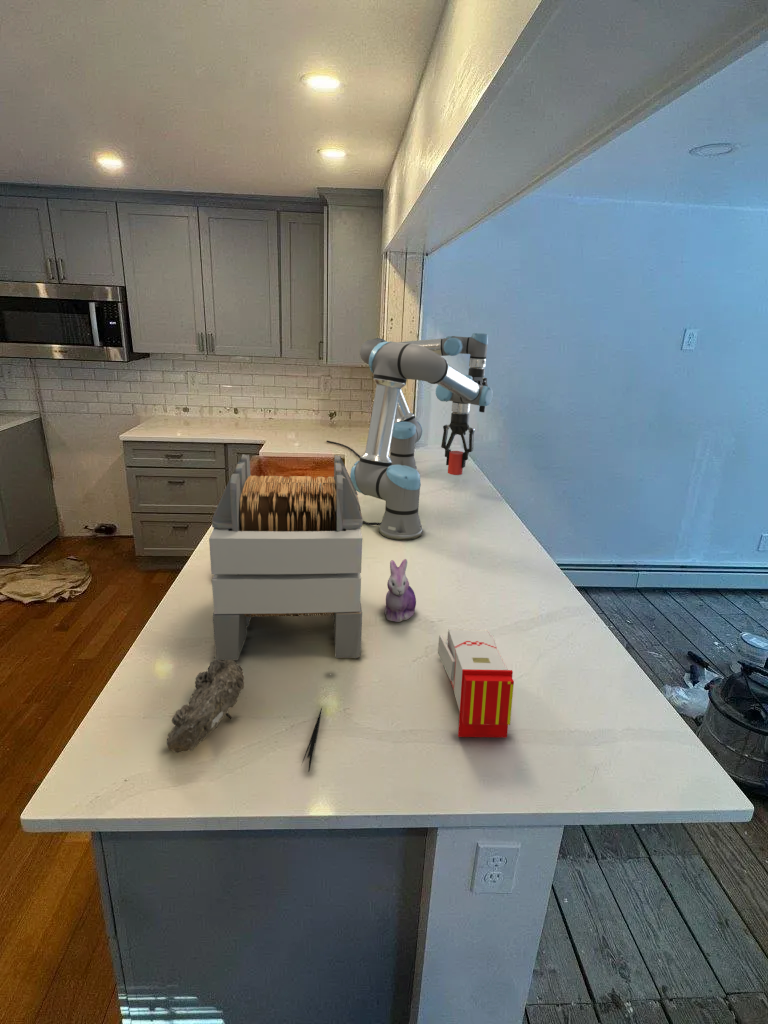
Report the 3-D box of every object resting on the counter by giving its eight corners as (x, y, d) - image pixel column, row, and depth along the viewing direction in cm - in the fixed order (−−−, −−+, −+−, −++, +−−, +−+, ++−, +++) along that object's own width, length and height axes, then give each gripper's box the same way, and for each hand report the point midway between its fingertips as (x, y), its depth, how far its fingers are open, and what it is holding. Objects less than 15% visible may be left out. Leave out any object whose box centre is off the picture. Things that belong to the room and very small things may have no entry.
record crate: (234, 590, 156) (226, 444, 142) (353, 588, 159) (357, 447, 146) (212, 662, 124) (200, 485, 110) (361, 659, 128) (367, 486, 114)
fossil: (192, 660, 117) (244, 628, 112) (224, 691, 120) (276, 661, 115) (142, 746, 98) (202, 712, 93) (182, 779, 101) (242, 748, 96)
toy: (488, 613, 130) (523, 677, 101) (484, 667, 133) (517, 744, 104) (435, 612, 130) (455, 676, 101) (432, 666, 133) (451, 743, 103)
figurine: (392, 627, 141) (395, 572, 136) (374, 608, 149) (376, 556, 144) (425, 619, 145) (429, 566, 140) (405, 601, 154) (408, 550, 149)
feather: (331, 679, 122) (336, 673, 122) (307, 777, 96) (313, 769, 95) (324, 675, 122) (329, 669, 121) (298, 772, 95) (304, 764, 95)
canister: (447, 474, 244) (449, 453, 241) (447, 470, 250) (449, 450, 247) (462, 475, 244) (464, 454, 241) (462, 471, 250) (464, 451, 247)
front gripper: (485, 414, 238) (479, 467, 245) (441, 408, 245) (437, 460, 253) (480, 416, 231) (474, 471, 239) (435, 411, 239) (431, 464, 247)
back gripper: (465, 369, 254) (461, 416, 261) (499, 367, 270) (495, 412, 277) (453, 367, 259) (449, 414, 266) (487, 366, 275) (482, 409, 282)
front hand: (455, 465), depth 246 cm, fingers closed on canister, 6 cm apart
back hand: (472, 413), depth 272 cm, fingers open, 13 cm apart
